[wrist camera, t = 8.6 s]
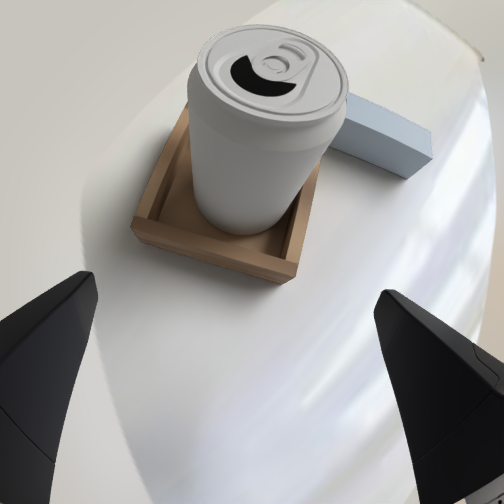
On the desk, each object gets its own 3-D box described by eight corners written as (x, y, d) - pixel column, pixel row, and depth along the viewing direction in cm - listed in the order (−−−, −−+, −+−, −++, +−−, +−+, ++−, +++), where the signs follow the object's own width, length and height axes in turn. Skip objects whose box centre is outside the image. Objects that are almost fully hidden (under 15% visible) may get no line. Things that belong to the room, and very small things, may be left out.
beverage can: (175, 199, 20) (147, 66, 9) (234, 140, 22) (259, 4, 10) (248, 258, 20) (302, 167, 8) (303, 190, 22) (382, 75, 10)
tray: (282, 284, 20) (295, 277, 17) (140, 241, 20) (129, 227, 17) (311, 160, 23) (324, 139, 20) (189, 125, 22) (188, 100, 19)
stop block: (407, 179, 24) (432, 158, 20) (326, 145, 24) (344, 117, 20) (407, 153, 25) (430, 131, 21) (331, 120, 24) (347, 91, 21)
